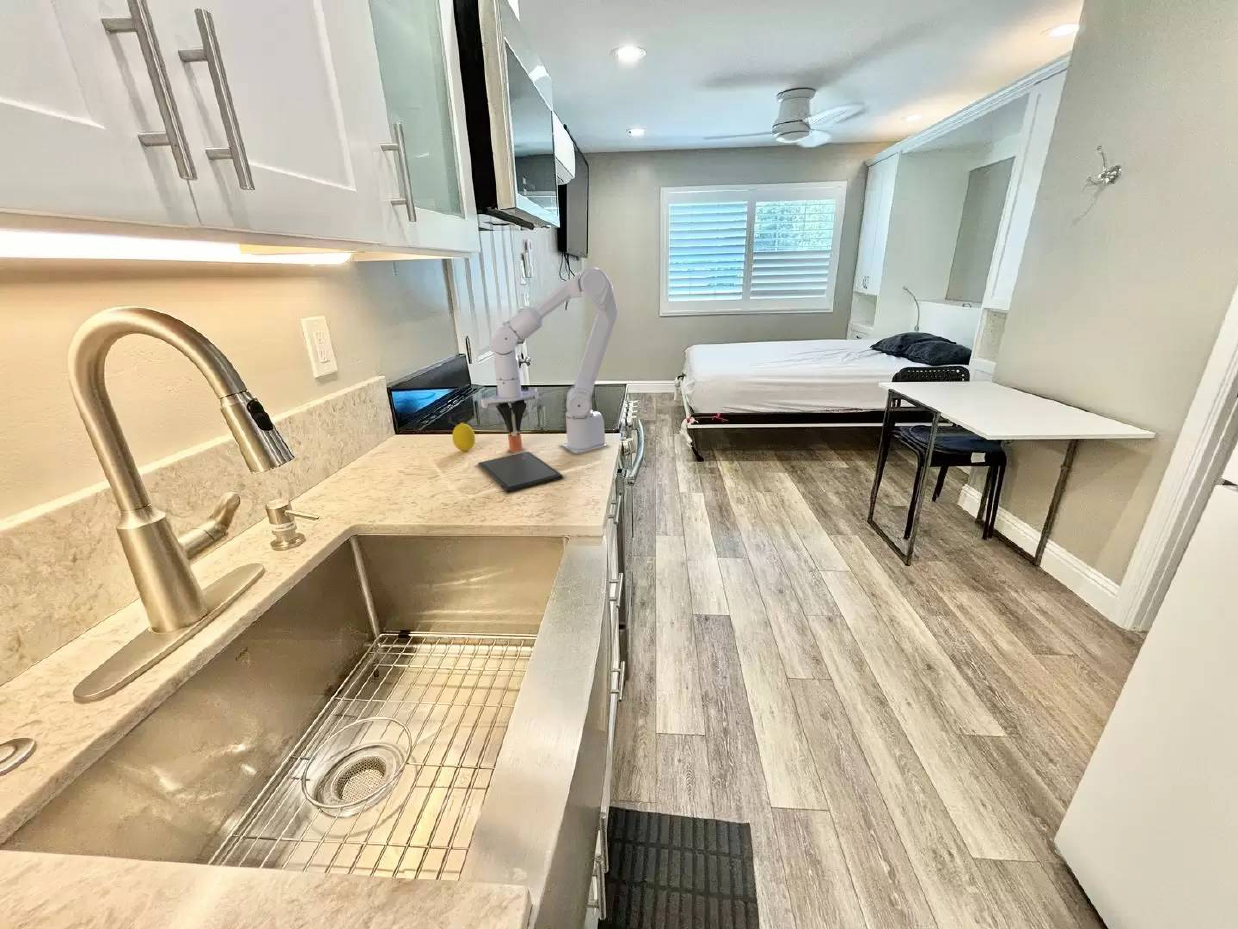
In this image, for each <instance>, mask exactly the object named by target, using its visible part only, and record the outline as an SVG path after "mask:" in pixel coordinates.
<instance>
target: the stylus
mask: <svg viewBox="0 0 1238 929" xmlns="http://www.w3.org/2000/svg"><path fill="white" fill-rule="evenodd" d="M512 425H513V432H510V433H511V435H512V436H517V433H518V431H517V430H516V420H515V413H513V412H512Z"/></svg>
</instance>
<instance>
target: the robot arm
mask: <svg viewBox="0 0 1238 929" xmlns="http://www.w3.org/2000/svg"><path fill="white" fill-rule="evenodd" d="M613 288H614V287H613V284H612V282H611V281H610V279H609V278H608V275H607V274H606V273H605V271H604V270H602V269H600V268H598V267H590V268H586V269H585V270H583V271H582V273H581V274H580V273H578V274H577V275H575V276H573V277H571V278H569V279H568V280H566V281H564V282H563V283H562V284H561V285H560V286H559V287H557V288H555V290H554V291H552V292H551V293H550V294H549V295H548V296H547V297H545V298H544V299H543V300H542V301H540V302H539V303H538V304H537V305H536V306H531V305H526V306H525V307H522V306H521V307H519V308H518V309H517V311H516V312H517V313H516V314H514V315H513V316H512V317H511V318H509V319H508V320H507V321H506V320H504V321H502V322H501V325H502V326H500V327H498V328H496V329H494V331H493V332H492V334H491V335H490V338H489V343H490V346H491V348H492V350H493V357H494V360H493V363H494V364H493V365H494V372H495V379H496V387H497V388H496V389H497V395H493V396H489V397H485V398H480V407H481V408H482V409H488V408H491V407H495V408H496V409H497V410H498V412H499V414H500V415H501V417H502V419H503V422H504V424H505V426H506V431H507V432H509V433H511V432H513V425H512V413H515V420H516V430H517V432H520V431H521V426H522V420H523V417H524V414H525V412H526V409H527V402H526V401H533V400H535V401H536V400H540V395H539V391H537V390H527V391H522V384H521V375H520V374H521V373H520V364H519V358H518V354H517V345H518V343H523V342H524V341H525V340H527V339H528V338H529V337H530V336H532V335H533V334H534V333H536V332H537V331H538V330H539V329H541V328H542V327H543V323H544V318H545V317H547V316H548V315H549V314H550V313H552V312H553V311H554V310H556V309H557V308H559V307H560V306H561V305H563V304H564V303H566V302H567V301H568V300H570V299H576V298H582V297H583V294H584V295H585V296H586V297H587V298H588V300H590V301H591V304H592V306H593V307H594V309H595V311H596V315H595V318H594V322H593V325H592V328H591V332H590V335H589V337H588V340H587V344H586V347H585V350H584V352H583V353H584V354H583V356H582V360H581V362H580V366H579V369H578V372H577V375H576V377H575V379H574V382H573V385H572V386H571V387H569V389H568V391H567V392H566V402H565V407H566V408H565V409H566V412H565V424H566V425H565V426H566V440H567V441H566V442H564V443H561V446H562V447H564V448H565V449H567V450H569V451H570V452H572V453H574V454H579V453H582V452H587V451H590V450H595V449H599V448H603V447H607V444H606V433H605V420H604V417H603V415H602V413H600V411H594V410H593V409H592V408H593V403H592V396H593V393H594V388H595V385H596V384H595V383H596V380H597V377H598V374H599V371H600V368H601V365H602V362H603V359H604V356H605V353H606V350H607V347H608V344H609V341H610V337H611V335H612V332H613V329H614V326H615V323H616V320H617V317H618V314H619V313H618V312H619V310H618V305H617V301H616V296H615V293H614V289H613ZM582 292H583V294H582Z"/></svg>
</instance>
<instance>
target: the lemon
mask: <svg viewBox="0 0 1238 929" xmlns="http://www.w3.org/2000/svg"><path fill="white" fill-rule="evenodd" d="M452 442H453V445H454V446H455V448H456V449H458V450H459V451H462V452H469V451H470V450H472V449H473V447H474V446H475V444H476V433H475V431H474V430H473V428H472V427H471V426H470V425H469V424H467V423H464V422H460V423H459V424H457V425H456V426H455V427H454V428H453V430H452Z"/></svg>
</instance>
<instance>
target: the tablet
mask: <svg viewBox="0 0 1238 929" xmlns="http://www.w3.org/2000/svg"><path fill="white" fill-rule="evenodd" d="M477 464H478V466H479V467H480V468H482V469H483V470H484V471H485V472H486V473H487V474H488V475H489V476H490V477H491V478H493V480H495V481H496V482H497V483H498V485H500V488H502V490H503V491H504V492H506V493H507V494H510V493H513V492H517V491H521V490H525V489H528V488H533V487H536V486H540V485H543V484H547V483H551V482H555V481H558V480H562V479H563V474H561V473H560V472H558V471H557V469H554V468H553V467H552V466H550V465H548V464H547V463H546V462H544V461H543V460H542V459H540V458H538V456H535V455H534V454H533V453H531V452H530V451H524V452H519V453H515V454H512V455H511V454H510V455H506V456H502V457H497V458H493V459H488V460H485V461H479V462H478V463H477Z"/></svg>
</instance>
